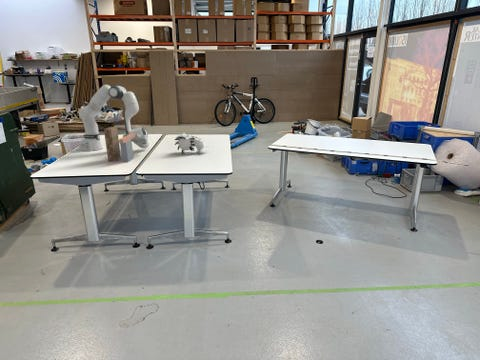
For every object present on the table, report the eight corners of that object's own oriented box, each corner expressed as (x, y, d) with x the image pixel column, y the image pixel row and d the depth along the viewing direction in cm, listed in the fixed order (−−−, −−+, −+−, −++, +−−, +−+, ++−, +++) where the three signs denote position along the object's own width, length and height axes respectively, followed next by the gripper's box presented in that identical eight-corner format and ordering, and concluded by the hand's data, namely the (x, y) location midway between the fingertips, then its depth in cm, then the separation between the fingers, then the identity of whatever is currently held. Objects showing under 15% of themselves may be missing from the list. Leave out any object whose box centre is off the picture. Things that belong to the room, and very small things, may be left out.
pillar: (108, 161, 268) (103, 129, 260) (114, 157, 278) (110, 126, 269) (115, 161, 268) (111, 129, 259) (121, 158, 277) (117, 127, 268)
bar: (119, 143, 259) (118, 139, 258) (131, 137, 279) (131, 133, 278) (123, 143, 258) (122, 139, 257) (135, 137, 279) (134, 133, 278)
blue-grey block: (122, 161, 267) (119, 142, 261) (127, 158, 276) (125, 139, 271) (128, 162, 266) (125, 142, 261) (133, 158, 276) (131, 139, 270)
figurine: (208, 157, 289) (173, 154, 285) (208, 153, 304) (174, 149, 301) (210, 139, 284) (174, 135, 280) (210, 135, 299) (176, 131, 295)
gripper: (127, 135, 290) (119, 130, 277) (149, 136, 288) (143, 131, 274) (126, 142, 289) (118, 137, 276) (148, 143, 287) (142, 138, 273)
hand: (131, 134), depth 275 cm, fingers open, 8 cm apart
